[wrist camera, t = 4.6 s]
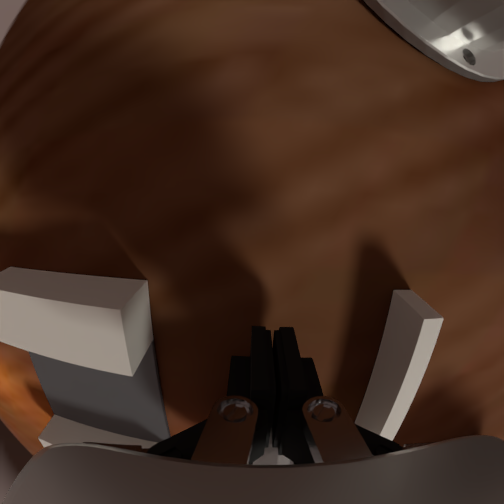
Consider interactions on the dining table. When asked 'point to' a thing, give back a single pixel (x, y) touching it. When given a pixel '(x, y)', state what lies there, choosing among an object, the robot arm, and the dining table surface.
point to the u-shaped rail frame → (144, 358)
